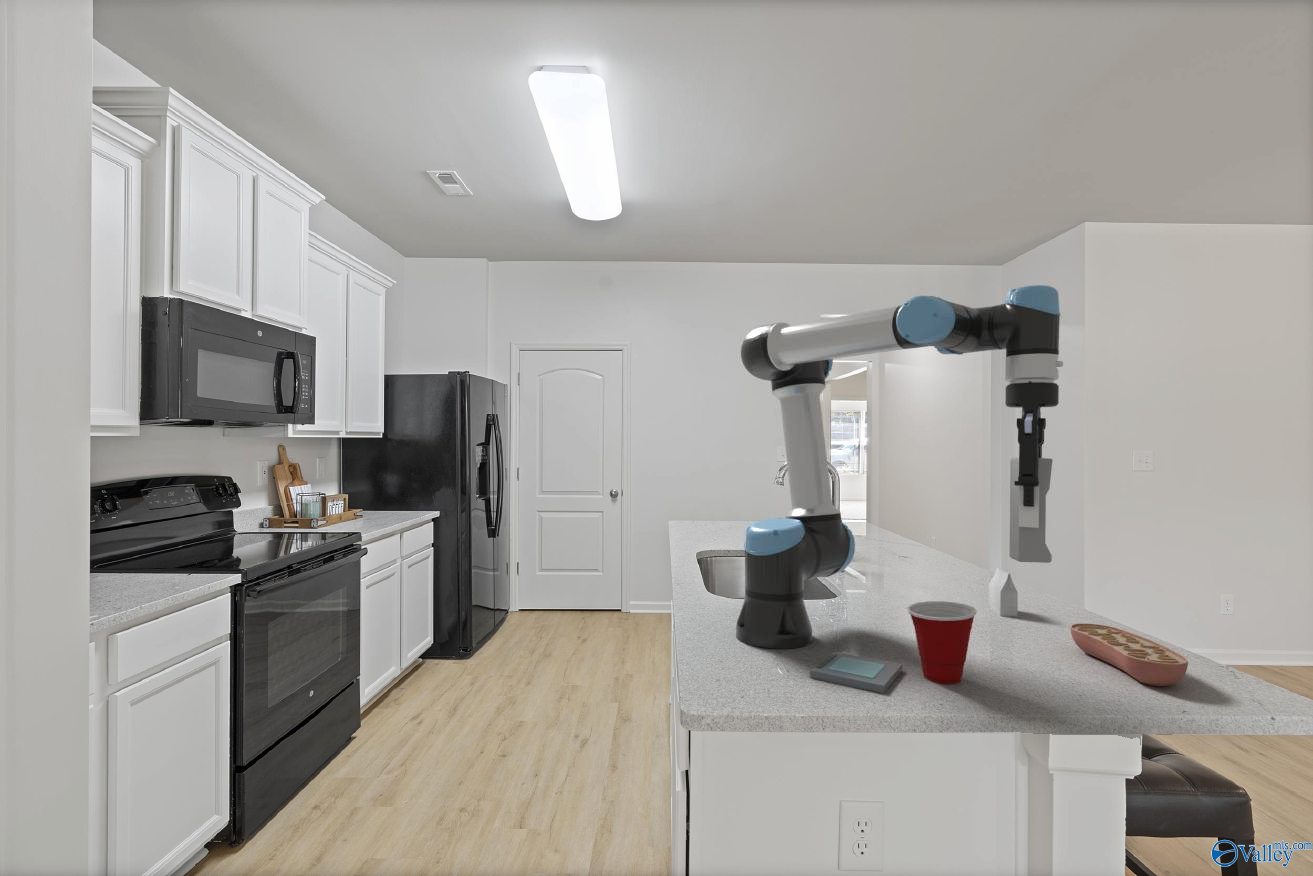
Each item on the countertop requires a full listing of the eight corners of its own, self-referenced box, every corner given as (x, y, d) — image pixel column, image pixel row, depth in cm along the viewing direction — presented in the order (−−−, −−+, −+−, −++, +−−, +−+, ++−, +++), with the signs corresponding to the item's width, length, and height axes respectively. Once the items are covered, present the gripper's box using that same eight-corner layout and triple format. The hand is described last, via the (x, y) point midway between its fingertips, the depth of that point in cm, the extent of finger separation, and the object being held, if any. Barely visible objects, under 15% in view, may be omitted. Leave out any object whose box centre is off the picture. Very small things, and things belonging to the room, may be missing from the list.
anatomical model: (1059, 648, 126) (1060, 622, 126) (1112, 649, 125) (1112, 623, 125) (1143, 694, 103) (1143, 663, 103) (1208, 696, 102) (1208, 664, 103)
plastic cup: (897, 666, 115) (897, 598, 115) (959, 667, 114) (959, 599, 114) (919, 690, 104) (920, 614, 104) (988, 691, 103) (989, 616, 103)
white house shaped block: (1000, 617, 147) (1000, 573, 147) (988, 610, 154) (988, 567, 154) (1017, 618, 147) (1017, 574, 147) (1005, 610, 153) (1005, 568, 153)
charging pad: (810, 677, 109) (810, 669, 109) (833, 658, 119) (833, 650, 119) (883, 693, 102) (883, 685, 102) (902, 671, 112) (902, 663, 112)
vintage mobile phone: (1051, 563, 104) (1053, 407, 104) (1018, 562, 105) (1020, 406, 105) (1041, 558, 108) (1042, 408, 108) (1009, 557, 108) (1010, 408, 108)
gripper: (1056, 377, 96) (1054, 533, 96) (1061, 386, 112) (1059, 521, 112) (999, 379, 101) (997, 529, 101) (1011, 387, 116) (1010, 517, 116)
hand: (1030, 524), depth 106 cm, fingers closed on vintage mobile phone, 5 cm apart
